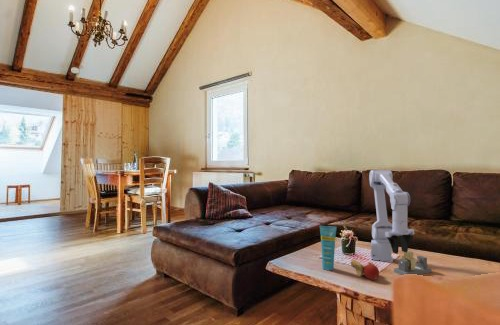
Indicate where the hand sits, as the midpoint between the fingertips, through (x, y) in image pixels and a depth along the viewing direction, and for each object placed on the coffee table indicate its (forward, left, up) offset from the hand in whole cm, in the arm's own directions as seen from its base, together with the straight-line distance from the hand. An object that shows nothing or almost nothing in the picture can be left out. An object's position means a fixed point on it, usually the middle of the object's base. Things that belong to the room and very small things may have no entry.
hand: (399, 252), depth 124 cm
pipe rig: (+5, +6, -9) cm, 12 cm away
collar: (+3, +4, -7) cm, 9 cm away
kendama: (-14, -5, -10) cm, 18 cm away
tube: (-29, -6, -10) cm, 31 cm away
